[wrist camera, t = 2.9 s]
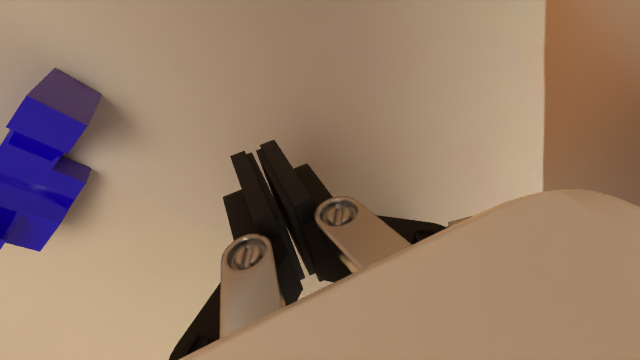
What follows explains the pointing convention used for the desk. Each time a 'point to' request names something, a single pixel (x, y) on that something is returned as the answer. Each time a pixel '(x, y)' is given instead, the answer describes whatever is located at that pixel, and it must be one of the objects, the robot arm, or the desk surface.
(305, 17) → the desk surface
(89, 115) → the cable holder
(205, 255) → the desk surface
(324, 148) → the desk surface
